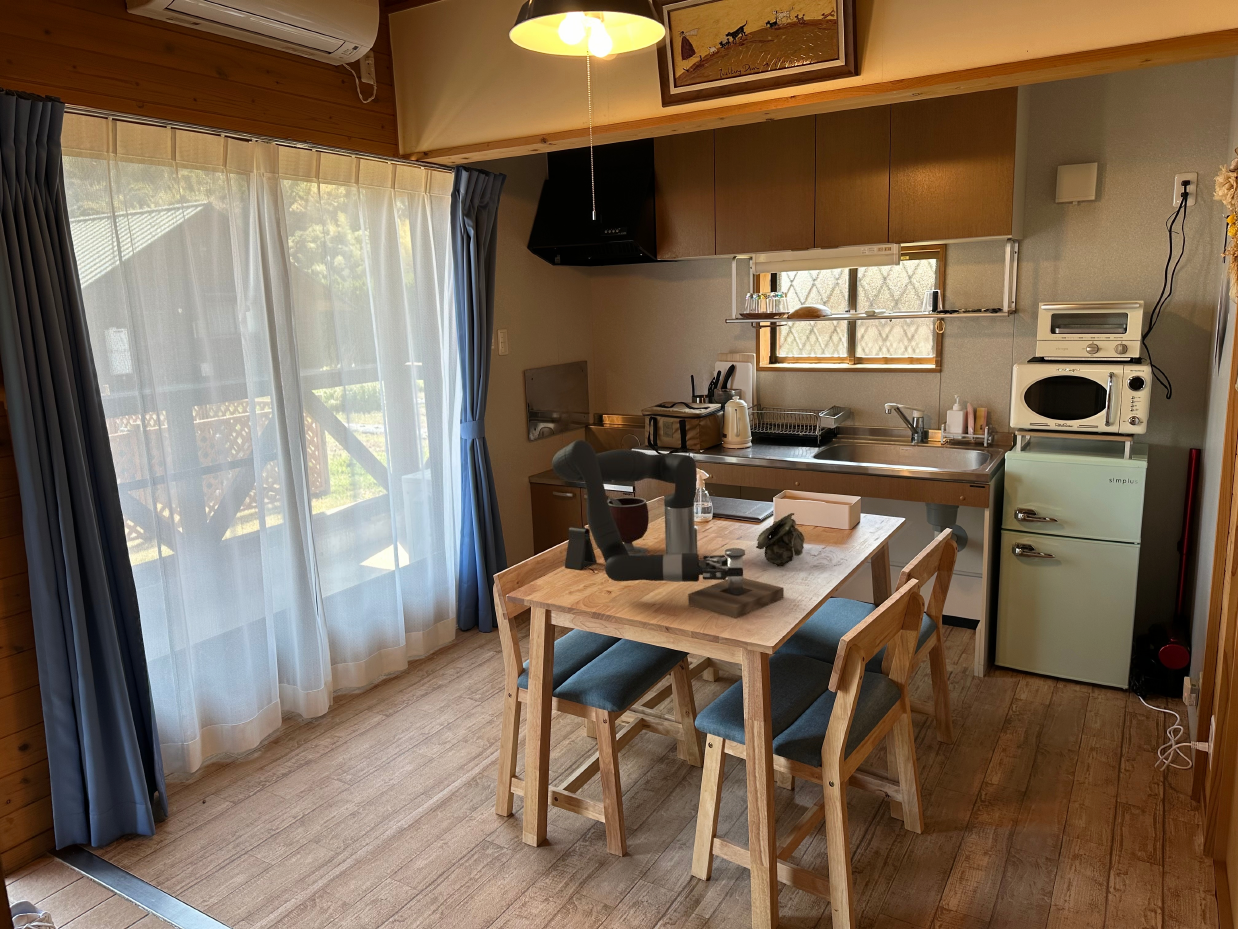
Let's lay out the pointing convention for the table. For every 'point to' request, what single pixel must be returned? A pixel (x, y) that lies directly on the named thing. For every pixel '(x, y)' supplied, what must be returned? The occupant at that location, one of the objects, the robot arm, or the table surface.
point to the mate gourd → (630, 521)
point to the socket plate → (735, 598)
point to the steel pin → (733, 562)
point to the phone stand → (579, 549)
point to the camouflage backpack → (781, 541)
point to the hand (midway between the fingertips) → (742, 567)
